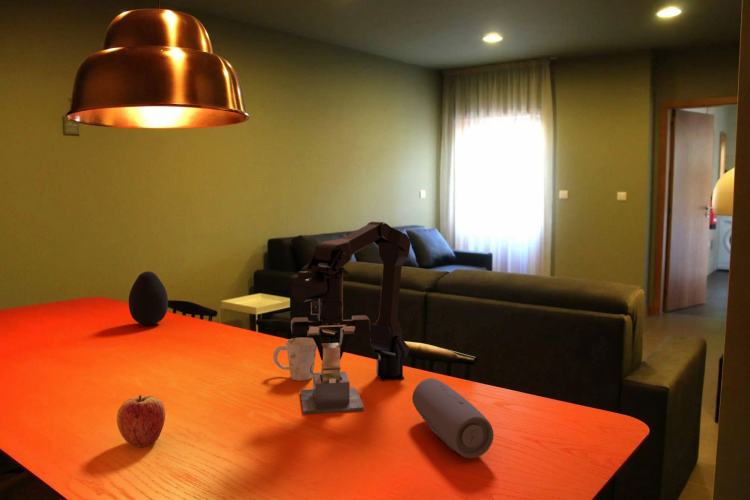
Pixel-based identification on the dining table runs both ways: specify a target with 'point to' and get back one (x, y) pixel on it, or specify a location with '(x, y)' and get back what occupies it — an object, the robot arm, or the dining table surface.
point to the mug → (298, 357)
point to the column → (331, 361)
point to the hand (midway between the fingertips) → (330, 359)
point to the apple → (141, 420)
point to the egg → (148, 299)
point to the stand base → (330, 396)
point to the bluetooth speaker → (453, 418)
